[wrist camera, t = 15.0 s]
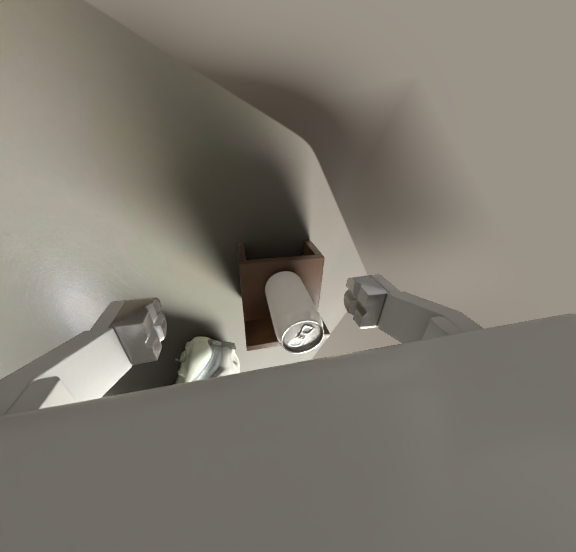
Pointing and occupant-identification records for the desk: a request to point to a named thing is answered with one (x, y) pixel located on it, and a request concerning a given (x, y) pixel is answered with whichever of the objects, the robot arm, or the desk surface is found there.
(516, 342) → the robot arm
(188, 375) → the baseball cleat
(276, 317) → the can
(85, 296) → the desk surface
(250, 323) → the wooden doll chair
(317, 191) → the desk surface
